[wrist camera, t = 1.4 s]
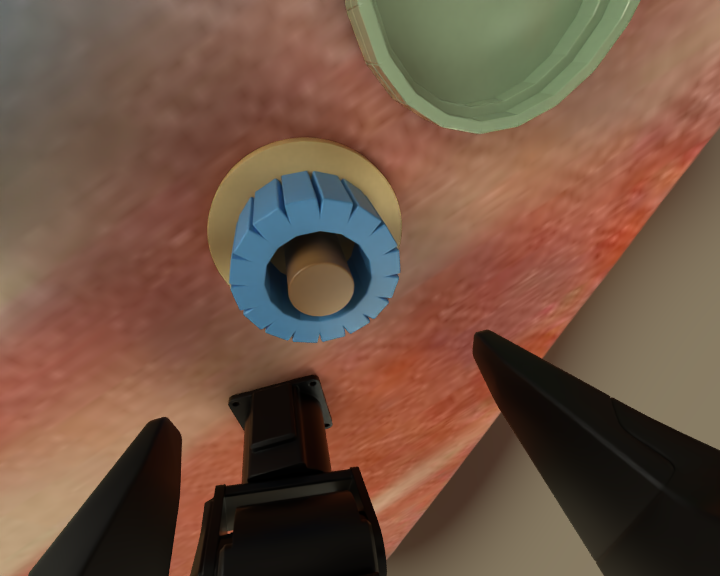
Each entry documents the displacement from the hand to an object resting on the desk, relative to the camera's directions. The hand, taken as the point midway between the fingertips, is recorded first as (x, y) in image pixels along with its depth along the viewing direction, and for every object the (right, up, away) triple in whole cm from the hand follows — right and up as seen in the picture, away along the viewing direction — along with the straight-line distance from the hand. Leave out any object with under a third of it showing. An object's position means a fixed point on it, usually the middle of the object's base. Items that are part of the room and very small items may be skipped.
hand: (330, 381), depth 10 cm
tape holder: (-2, +5, +9) cm, 10 cm away
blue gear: (-2, +5, +8) cm, 10 cm away
